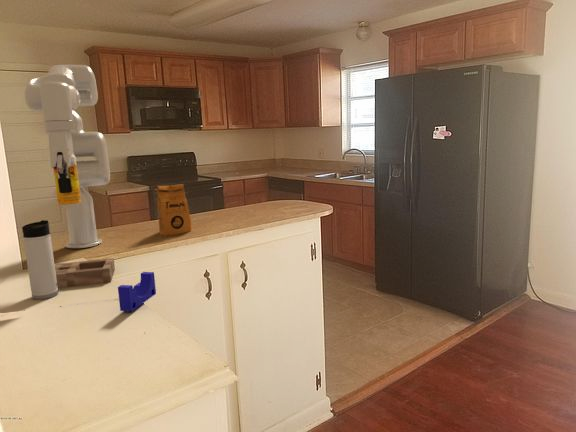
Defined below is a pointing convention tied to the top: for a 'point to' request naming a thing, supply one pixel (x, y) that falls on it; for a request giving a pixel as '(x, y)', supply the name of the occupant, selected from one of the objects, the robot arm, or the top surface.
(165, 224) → the coffee package
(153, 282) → the cable clip
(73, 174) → the beer can
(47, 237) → the travel mug
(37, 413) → the top surface
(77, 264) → the brown wooden slotted block
